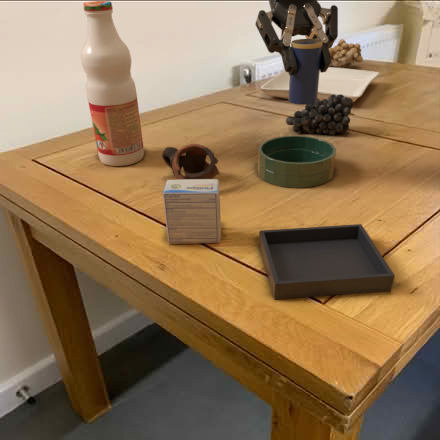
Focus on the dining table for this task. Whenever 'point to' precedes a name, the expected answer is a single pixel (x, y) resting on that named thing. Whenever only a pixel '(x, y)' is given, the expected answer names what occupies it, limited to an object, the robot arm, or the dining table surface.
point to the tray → (323, 262)
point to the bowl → (296, 161)
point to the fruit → (323, 116)
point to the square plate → (326, 83)
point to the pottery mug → (191, 161)
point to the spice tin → (305, 71)
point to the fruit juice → (111, 89)
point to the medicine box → (192, 211)
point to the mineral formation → (345, 54)
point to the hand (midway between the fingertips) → (309, 70)
